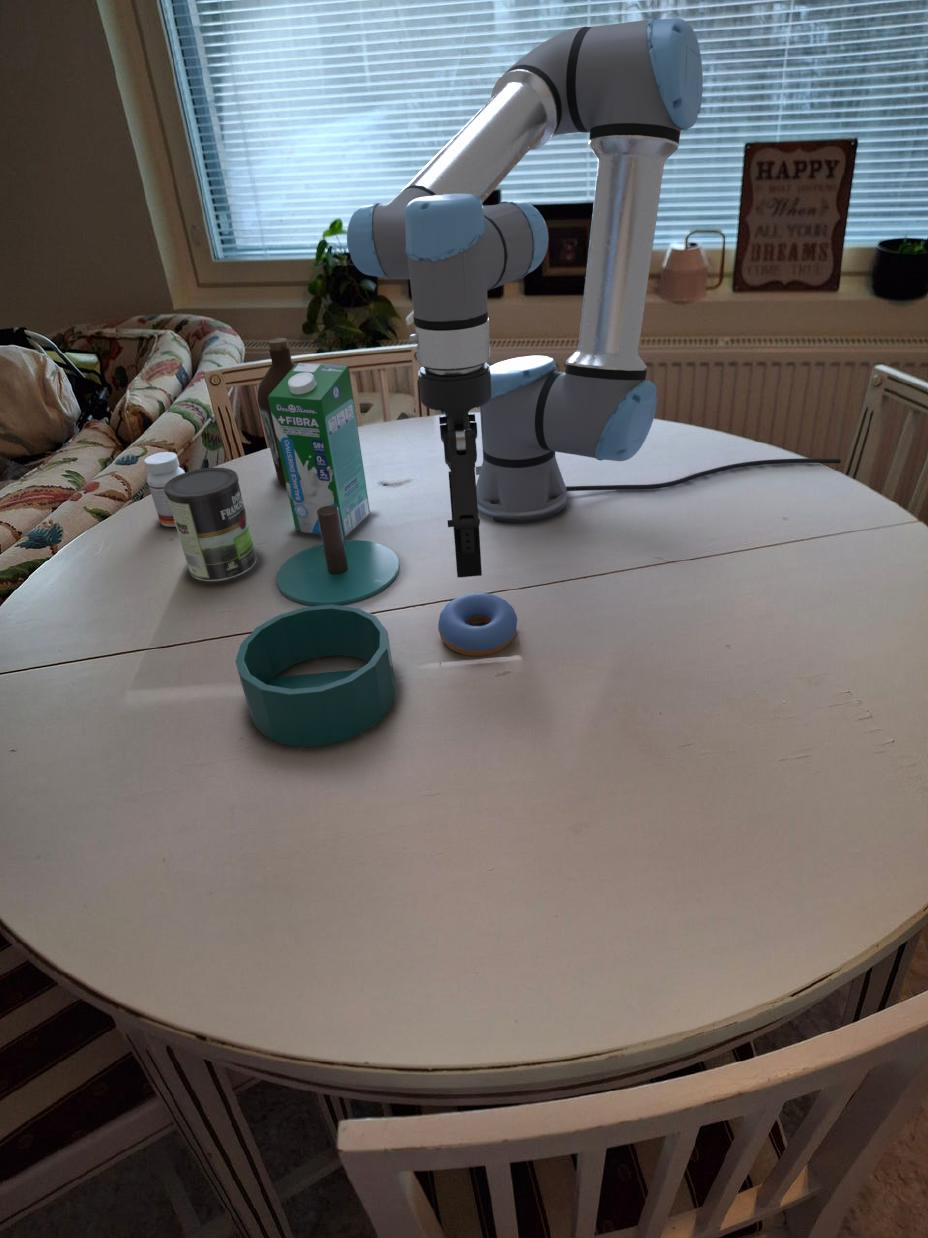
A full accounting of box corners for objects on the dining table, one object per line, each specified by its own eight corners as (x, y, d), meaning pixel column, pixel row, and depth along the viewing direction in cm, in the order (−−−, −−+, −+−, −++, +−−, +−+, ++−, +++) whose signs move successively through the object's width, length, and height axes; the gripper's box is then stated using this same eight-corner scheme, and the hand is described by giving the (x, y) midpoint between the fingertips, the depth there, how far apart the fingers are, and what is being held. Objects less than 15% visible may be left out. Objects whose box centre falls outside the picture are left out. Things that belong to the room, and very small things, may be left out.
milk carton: (295, 533, 130) (263, 379, 116) (324, 509, 136) (297, 361, 122) (344, 540, 126) (317, 383, 112) (371, 515, 133) (348, 364, 119)
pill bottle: (193, 508, 140) (176, 447, 134) (200, 522, 135) (182, 459, 129) (157, 517, 138) (138, 455, 132) (163, 531, 133) (143, 468, 127)
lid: (400, 541, 125) (392, 478, 119) (399, 603, 110) (390, 534, 104) (285, 552, 125) (272, 488, 119) (270, 615, 110) (253, 546, 104)
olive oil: (330, 463, 153) (307, 328, 139) (335, 485, 144) (311, 343, 130) (274, 471, 151) (245, 336, 137) (276, 494, 143) (245, 352, 129)
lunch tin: (395, 649, 101) (388, 599, 97) (394, 739, 87) (386, 685, 83) (262, 661, 101) (249, 611, 97) (240, 753, 87) (223, 700, 83)
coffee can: (268, 551, 125) (249, 467, 117) (240, 586, 117) (217, 497, 109) (208, 548, 127) (185, 465, 119) (176, 582, 119) (149, 495, 111)
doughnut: (505, 667, 96) (504, 636, 94) (428, 656, 99) (424, 625, 97) (526, 622, 104) (526, 592, 102) (454, 612, 107) (451, 583, 105)
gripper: (417, 336, 93) (432, 503, 105) (418, 406, 72) (436, 604, 84) (481, 331, 93) (489, 498, 105) (501, 399, 72) (508, 599, 84)
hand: (466, 546), depth 94 cm, fingers open, 13 cm apart
